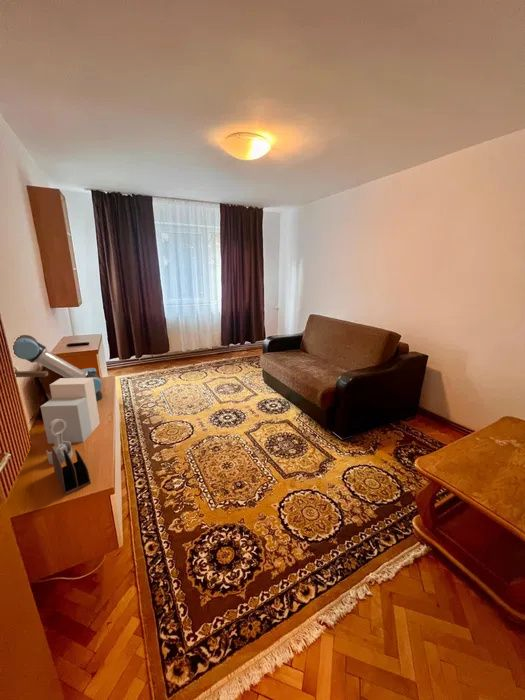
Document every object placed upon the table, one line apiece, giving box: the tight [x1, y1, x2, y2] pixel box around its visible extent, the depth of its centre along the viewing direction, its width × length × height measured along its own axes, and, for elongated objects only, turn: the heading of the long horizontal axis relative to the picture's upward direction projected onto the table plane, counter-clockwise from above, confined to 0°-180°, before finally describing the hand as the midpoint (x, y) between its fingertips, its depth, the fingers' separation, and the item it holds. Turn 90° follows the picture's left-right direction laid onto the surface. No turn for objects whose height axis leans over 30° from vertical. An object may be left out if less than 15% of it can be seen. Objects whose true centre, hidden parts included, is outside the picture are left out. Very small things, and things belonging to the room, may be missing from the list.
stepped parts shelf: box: [39, 377, 101, 445], centre depth 159 cm, size 20×18×30 cm
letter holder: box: [50, 447, 92, 495], centre depth 126 cm, size 10×20×14 cm, turn 45°
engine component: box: [45, 419, 74, 465], centre depth 139 cm, size 11×20×10 cm
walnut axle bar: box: [15, 370, 49, 378], centre depth 154 cm, size 3×24×2 cm, turn 95°
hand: (14, 369), depth 153 cm, fingers closed on walnut axle bar, 3 cm apart
